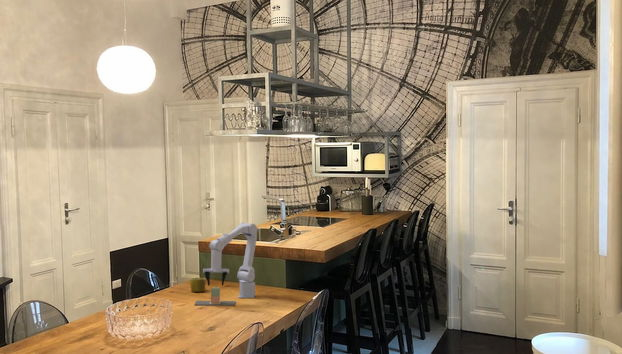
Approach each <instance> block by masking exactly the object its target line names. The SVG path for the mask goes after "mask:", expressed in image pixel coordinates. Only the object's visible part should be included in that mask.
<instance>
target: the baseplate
mask: <svg viewBox="0 0 622 354" xmlns="http://www.w3.org/2000/svg"><path fill="white" fill-rule="evenodd" d="M235 304H236V300H220V302H219V304H214V303H211V300H196V301H195V303H194V306H217V307H218V306H219V307H220V306H223V307H224V306H225V307H226V306H228V307H229V306H235Z"/></svg>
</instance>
